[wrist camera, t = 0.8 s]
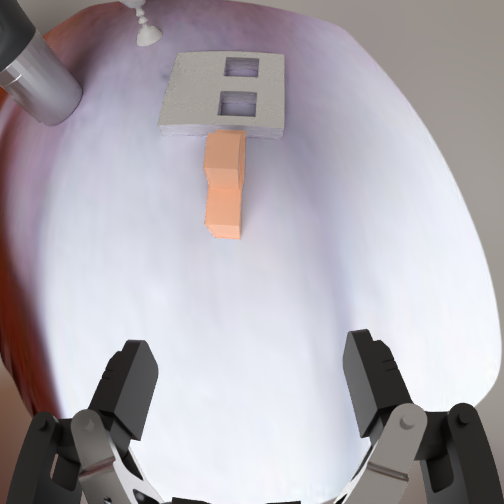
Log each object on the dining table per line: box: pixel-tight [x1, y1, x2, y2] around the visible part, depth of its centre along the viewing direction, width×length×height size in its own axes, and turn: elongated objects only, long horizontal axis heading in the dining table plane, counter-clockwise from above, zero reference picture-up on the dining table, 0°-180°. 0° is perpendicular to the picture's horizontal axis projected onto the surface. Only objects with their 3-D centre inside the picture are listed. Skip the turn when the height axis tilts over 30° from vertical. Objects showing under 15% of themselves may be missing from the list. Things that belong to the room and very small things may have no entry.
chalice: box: [119, 0, 162, 46], centre depth 27 cm, size 7×7×18 cm
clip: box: [203, 130, 246, 239], centre depth 26 cm, size 3×10×14 cm, turn 177°
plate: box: [157, 51, 284, 139], centre depth 33 cm, size 16×14×3 cm
